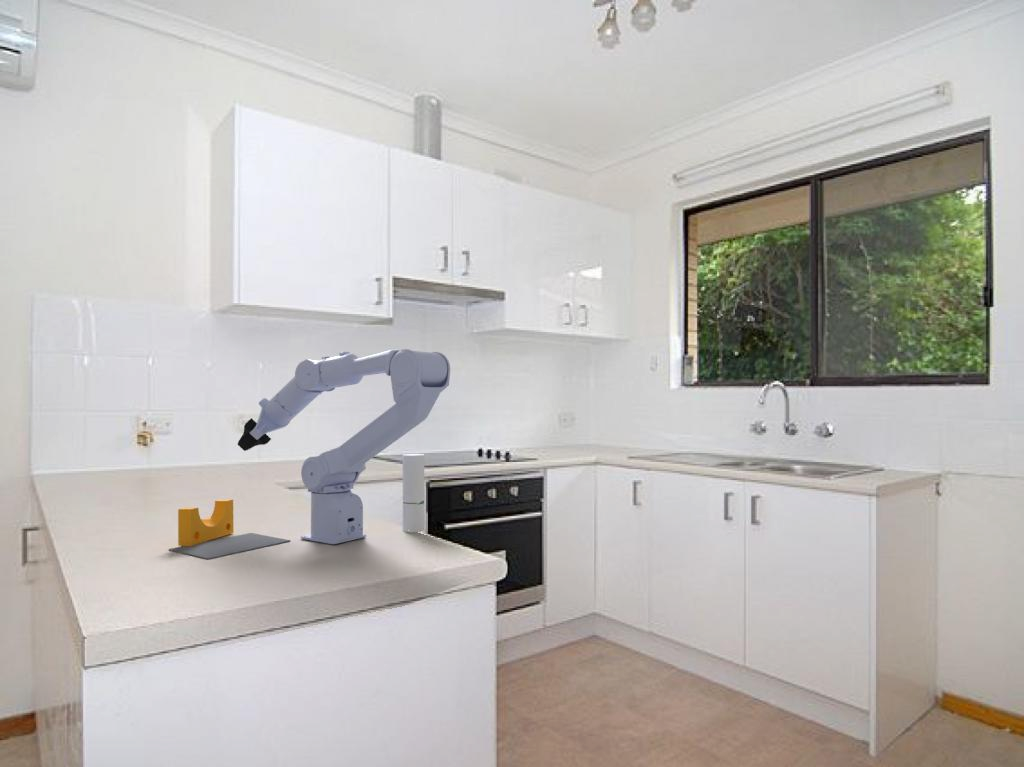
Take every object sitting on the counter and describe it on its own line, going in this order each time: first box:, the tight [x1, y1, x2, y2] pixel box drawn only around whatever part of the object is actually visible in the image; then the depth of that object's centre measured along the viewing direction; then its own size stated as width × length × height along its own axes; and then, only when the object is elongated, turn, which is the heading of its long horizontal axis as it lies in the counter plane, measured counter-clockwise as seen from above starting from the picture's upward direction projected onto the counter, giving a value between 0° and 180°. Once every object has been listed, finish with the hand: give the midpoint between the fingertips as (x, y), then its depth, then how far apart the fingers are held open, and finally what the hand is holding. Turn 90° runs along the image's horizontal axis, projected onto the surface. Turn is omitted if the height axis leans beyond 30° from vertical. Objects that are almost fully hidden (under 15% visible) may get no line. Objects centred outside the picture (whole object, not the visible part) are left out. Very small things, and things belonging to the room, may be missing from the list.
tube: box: [402, 453, 425, 533], centre depth 129 cm, size 4×4×15 cm
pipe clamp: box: [177, 499, 234, 547], centre depth 121 cm, size 12×4×6 cm, turn 168°
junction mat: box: [168, 532, 291, 560], centre depth 115 cm, size 12×16×1 cm
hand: (251, 437), depth 133 cm, fingers open, 7 cm apart
